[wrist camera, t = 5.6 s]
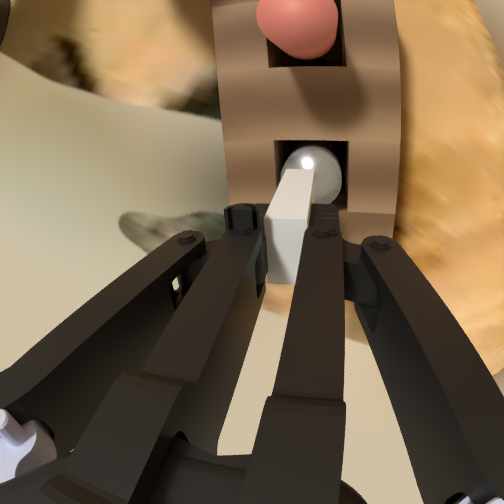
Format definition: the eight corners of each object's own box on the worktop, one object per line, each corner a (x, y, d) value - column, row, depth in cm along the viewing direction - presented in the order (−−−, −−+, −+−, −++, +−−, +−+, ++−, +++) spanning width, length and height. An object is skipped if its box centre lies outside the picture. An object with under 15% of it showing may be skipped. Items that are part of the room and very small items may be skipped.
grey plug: (291, 184, 26) (281, 208, 22) (289, 137, 24) (279, 150, 20) (339, 185, 25) (341, 209, 21) (339, 138, 23) (342, 150, 19)
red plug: (276, 60, 18) (259, 52, 13) (272, 7, 16) (253, -16, 11) (338, 60, 17) (341, 49, 12) (333, 5, 15) (333, -21, 10)
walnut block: (381, 214, 27) (391, 245, 22) (251, 209, 30) (234, 238, 25) (377, -7, 17) (389, -30, 12) (234, -2, 20) (209, -22, 15)
